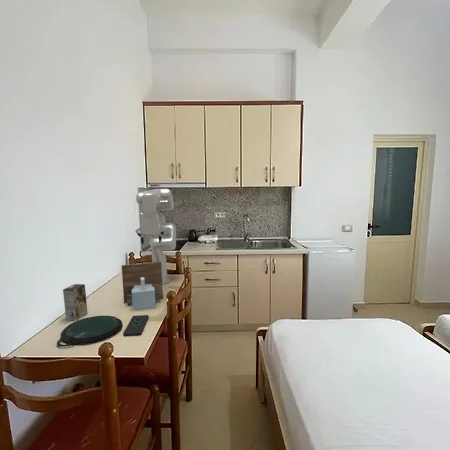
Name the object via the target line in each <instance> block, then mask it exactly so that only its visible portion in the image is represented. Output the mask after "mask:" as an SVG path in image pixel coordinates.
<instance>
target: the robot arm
mask: <svg viewBox="0 0 450 450" xmlns="http://www.w3.org/2000/svg"><path fill="white" fill-rule="evenodd" d="M135 201H136V203H137V205H139V206H142V212H141V213H140V216H142V218H141V227H139V228H136V230H135V233H136V234H137V236H139V238H140V243H141V244H142V245H144V244H145V241H144V236H145V235H153V236H154V237H152V238H151V239H150V241H149V245H150V246H149V247H150V251H151V260H152V261H151V263H153V262H161V269H162V285H166V284H168V282H171V280H170V278H168V267H167V256H166V254H165V253H164V252H167V251H170V252H172V251H174V250H176V247H177V228H176V225H175V224H174V223H173V222H172V223H171V222H166V216H164V214H163V213H161V212H163V211H164V212H166V211H168V212H169V211H172V210H174V208H175V203H174V198H173V192H172V190H171V189H169V188H153V189H151V190H146V191H139V192H138V193H136V197H135ZM160 211H161V212H160ZM140 231H141V233H140Z"/></svg>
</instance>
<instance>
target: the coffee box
mask: <svg viewBox="0 0 450 450" xmlns="http://www.w3.org/2000/svg"><path fill="white" fill-rule="evenodd" d="M62 293H63V303H64V310H65V312H64V313H65V320H66V321H78V320H80V319H81V318H83V317H84V316H86V315H87V314H88V305H87V303H88V302H87V293H86V284H83V283H80V284H79V283H78V284H77V283H76V284H75V283H74V284H71V285H70V286H67V287H66V288H64V289H62Z"/></svg>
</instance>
